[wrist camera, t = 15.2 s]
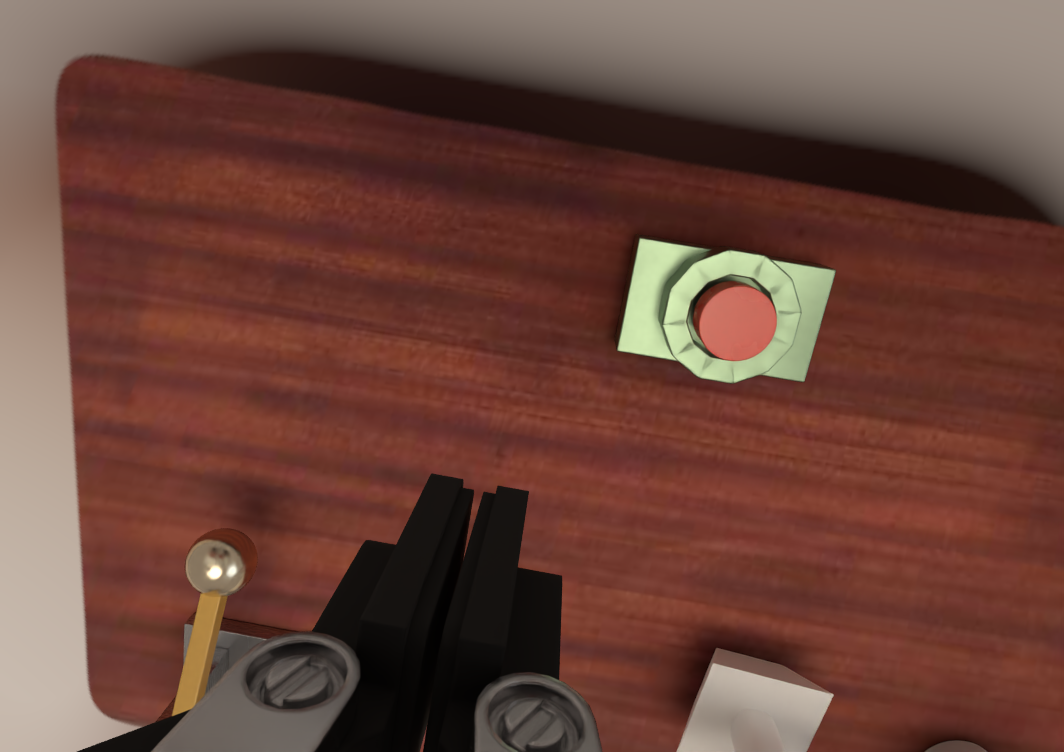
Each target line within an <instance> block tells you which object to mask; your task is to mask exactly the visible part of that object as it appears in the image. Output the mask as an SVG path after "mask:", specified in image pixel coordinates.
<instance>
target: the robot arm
mask: <svg viewBox="0 0 1064 752" xmlns="http://www.w3.org/2000/svg"><path fill="white" fill-rule="evenodd" d="M528 494H529V491H524V490H519V489H513V488H508V487H502V486H498V487H497V490H496V494H493V493H488V492H483V496H482V499H481V502H480V506H479V509H478V513H477V516H476V519H475V523H474V526H473V530H472V533H471V536H470V540H469V543H468V547H467V550H466V553H465V557H464V552H465V546H466V540H467V534H468V527H469V521H470V515H471V509H472V502H473V496H474V490H472V489H466V488H463V479H459V478H453V477H448V476H442V475H437V474H431V475H430V477H429V479H428V481H427V483H426V485H425V487H424V489H423V491H422V493H421V495H420V497H419V500H418V502H417V504H416V506H415V508H414V510H413V512H412V514H411V516H410V518H409V520H408V522H407V524H406V526H405V528H404V530H403V532H402V534H401V536H400V538H399V540H398V542H397V544H396V545H393V544H388V543H382V542H377V541H371V540H366V541H365V542H364V543H363V545H362V546H361V548H360V550H359V551H358V553H357V555H356V557H355V558H354V560H353V562H352V563H351V565H350V567H349V569H348V570H347V572H346V574H345V575H344V577H343V579H342V581H341V582H340V584H339V586H338V587H337V589H336V591H335V593H334V594H333V596H332V598H331V599H330V601H329V603H328V605H327V606H326V608H325V610H324V611H323V613H322V615H321V617H320V618H319V620H318V622H317V623H316V625H315V627H314V629H313V630H312V632H311V631H309V632H290V633H286V634H281V635H277V636H273V637H271V638H269V639H267V640H265V641H262V642H260V643H258V644H256V645H255V646H254V647H252V648H251V649H250V650H249V651H247V652H246V653H245V654H244V655H243V656H242V657H241V658H240V659H239V660H238V661H237V662H236V663H235V664H234V665H233V666H232V667H231V668H230V669H229V670H228V671H227V672H226V673H225V674H224V675H223V676H222V678H221V679H220V680H219V681H218V682H217V683H216V684H215V685H214V686H213V687H212V688H211V689H210V690H209V691H208V692H207V693H206V694H205V695H204V696H203V697H202V698H201V699H200V701H199V702H198V703H197V704H196V705H195V706H194V707H193V708H192V709H190V710H187V711H185V712H182V713H179V714H177V715H174V716H171V717H168V718H166V719H163V720H160V721H158V722H155V723H152V724H150V725H147V726H144V727H142V728H139V729H137V730H134V731H131V732H128V733H126V734H123V735H120V736H118V737H115V738H112V739H110V740H107V741H104V742H101V743H99V744H96V745H93V746H91V747H88V748H85V749H83V750H80V751H77V752H420V748H421V745H422V741H423V737H424V734H425V730H426V726H427V730H426V736H425V743H424V749H423V752H602V747H601V743H600V738H599V734H598V729H597V725H596V721H595V718H594V716H593V713H592V711H591V708H590V706H589V705H588V704H587V702H586V701H585V700H584V699H583V698H582V696H581V695H580V694H579V693H578V692H577V691H575V690H574V689H573V688H571V687H570V686H568V685H567V684H566V683H564V682H562V681H559V666H560V636H561V606H562V576H561V575H556V574H550V573H545V572H539V571H534V570H529V569H523V568H518V561H519V554H520V548H521V541H522V534H523V528H524V521H525V514H526V508H527V501H528ZM463 559H464V560H463ZM427 723H428V724H427Z"/></svg>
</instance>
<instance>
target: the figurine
mask: <svg viewBox="0 0 1064 752" xmlns="http://www.w3.org/2000/svg"><path fill="white" fill-rule="evenodd" d="M832 697H833V694H832V693H830V692H828V691H826V690H825V689H823V688H821V687H820V686H818V685H816V684H814V683H813V682H811V681H809V680H807V679H806V678H804V677H802V676H800V675H799V674H797V673H795V672H794V671H792V670H790V669H788V668H787V667H785V666H783V665H781V664H777V663H773V662H769V661H765V660H762V659H758V658H754V657H750V656H746V655H743V654H739V653H735V652H731V651H727V650H724V649H720V648H716V650H715V652H714V655H713V657H712V659H711V662H710V664H709V667H708V669H707V672H706V674H705V677H704V679H703V682H702V684H701V687H700V689H699V691H698V694H697V696H696V699H695V701H694V704H693V707H692V710H691V713H690V715H689V718H688V721H687V724H686V727H685V729H684V732H683V735H682V738H681V741H680V744H679V746H678V749H677V752H807V750H808V747H809V745H810V743H811V741H812V739H813V737H814V735H815V733H816V731H817V729H818V727H819V725H820V722H821V720H822V718H823V716H824V714H825V712H826V710H827V708H828V706H829V704H830V702H831V699H832Z"/></svg>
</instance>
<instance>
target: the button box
mask: <svg viewBox="0 0 1064 752" xmlns="http://www.w3.org/2000/svg"><path fill="white" fill-rule="evenodd" d="M835 273H836V270H835V269H833V268H830V267H827V266H824V265H821V264H815V263H809V262H803V261H797V260H791V259H785V258H779V257H773V256H767V255H764V254H761V253H759V252H756V251H751V250H745V249H739V248H733V247H727V246H720V247H712V246H706V245H700V244H694V243H688V242H682V241H676V240H670V239H664V238H658V237H651V236H645V235H639V234H636V235H635V239H634V245H633V250H632V255H631V260H630V265H629V270H628V275H627V280H626V285H625V290H624V295H623V300H622V305H621V310H620V315H619V320H618V326H617V331H616V336H615V345H616V349H617V351H619V352H625V353H631V354H637V355H643V356H649V357H655V358H661V359H667V360H673V361H678V362H680V363H681V364H682V365H683V366H684V367H686V368H687V369H688V370H689V371H691V372H692V373H693V374H694V375H695V376H697V377H698V378H701V379H707V380H713V381H719V382H724V383H730V384H732V383H737V382H740V381H743V380H746V379H749V378H752V377H755V376H758V375H762V376H768V377H774V378H780V379H786V380H792V381H798V382H804V381H805V378H806V374H807V371H808V367H809V364H810V360H811V357H812V353H813V350H814V346H815V343H816V339H817V336H818V332H819V329H820V325H821V322H822V318H823V315H824V311H825V308H826V304H827V301H828V297H829V294H830V290H831V287H832V283H833V280H834V276H835ZM725 281H740V282H744V283H747V284H749V285H751V286H752V287H754V288H756V289H757V290H759V291H761V292H762V293H763V294H765V295H766V296H767V297H768V298H769V299H770V301H771V302H772V304H773V306H774V308H775V311H776V316H777V326H776V331H775V334H774V336H773V338H772V340H771V342H770V343H769V345H768V346H767V347H766V348H765V349H764V350H763V351H762V352H760V353H759V354H758V355H756V356H754V357H752V358H749V359H746V360H742V361H728V360H724V359H721V358H719V357H717V356H715V355H714V354H712V353H711V352H710V351H709V350H708V349H707V348H706V347H705V345H704V344H703V343H702V342H701V340H700V339H699V338H698V336H697V334H696V332H695V329H694V325H693V313H694V309H695V306H696V304H697V302H698V300H699V298H700V297H701V296H702V294H703V293H704V292H705V291H706V290H708V289H709V288H710V287H712V286H714V285H716V284H718V283H721V282H725Z"/></svg>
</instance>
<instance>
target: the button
mask: <svg viewBox="0 0 1064 752" xmlns="http://www.w3.org/2000/svg"><path fill="white" fill-rule="evenodd" d="M693 325H694V329H695V332H696V334H697V336H698V338H699V339H700V340H701V342H702V343H703V344H704V345H705V347H706V348H707V349H708V350H709V351H710V352H711V353H712V354H714V355H715V356H717V357H719V358H721V359H724V360H728V361H742V360H746V359H749V358H752V357H754V356H756V355H758V354H759V353H760V352H762V351H763V350H764V349H765V348H766V347H767V346H768V345H769V343H770V342H771V340H772V338H773V336H774V334H775V331H776V326H777V316H776V311H775V308H774V306H773V304H772V302H771V301H770V299H769V298H768V297H767V296H766V295H765V294H763V293H762V292H761V291H759V290H757V289H756V288H754V287H752V286H751V285H749V284H747V283H744V282H740V281H725V282H721V283H718V284H716V285H714V286H712V287H710V288H709V289H708V290H706V291H705V292H704V293H703V294H702V296H701V297H700V298H699V300H698V302H697V304H696V306H695V309H694V313H693Z"/></svg>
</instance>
